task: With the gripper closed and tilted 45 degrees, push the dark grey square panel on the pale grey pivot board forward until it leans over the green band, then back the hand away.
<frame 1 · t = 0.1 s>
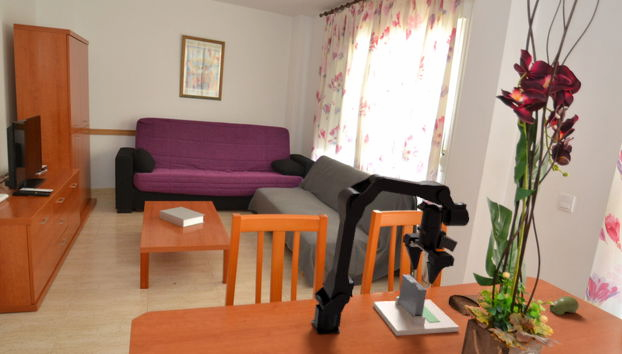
hand: (422, 276, 120), 15 cm above the table, tool pointing down, fingers open, 9 cm apart
pivot board: (414, 318, 125), on the table
sunglasses case: (478, 310, 136), on the table
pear: (562, 312, 140), on the table
dark grey square panel: (411, 297, 123), point 7 cm above the table, hinge at 0.0°
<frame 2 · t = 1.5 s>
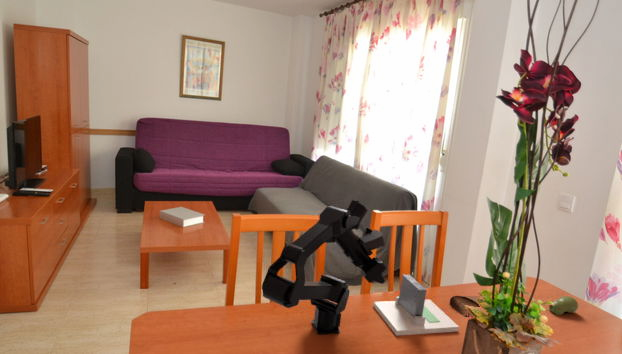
hand: (379, 278, 119), 14 cm above the table, tool tilted 45°, fingers open, 5 cm apart
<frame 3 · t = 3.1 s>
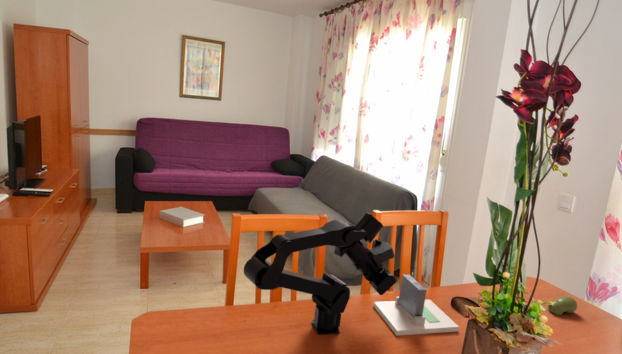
hand: (388, 289, 121), 10 cm above the table, tool tilted 45°, fingers closed
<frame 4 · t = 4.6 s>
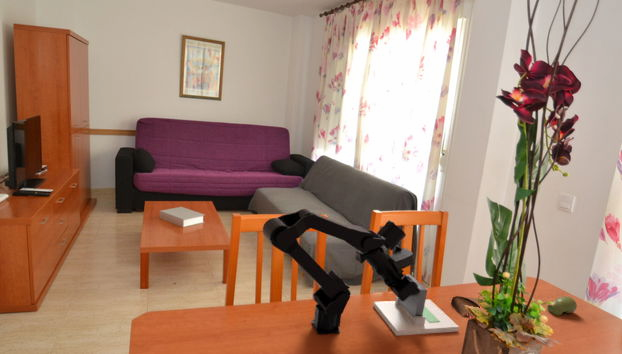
hand: (408, 294, 123), 8 cm above the table, tool tilted 45°, fingers closed, pressing on dark grey square panel
dark grey square panel: (412, 297, 123), point 7 cm above the table, hinge at 1.7°, touching gripper
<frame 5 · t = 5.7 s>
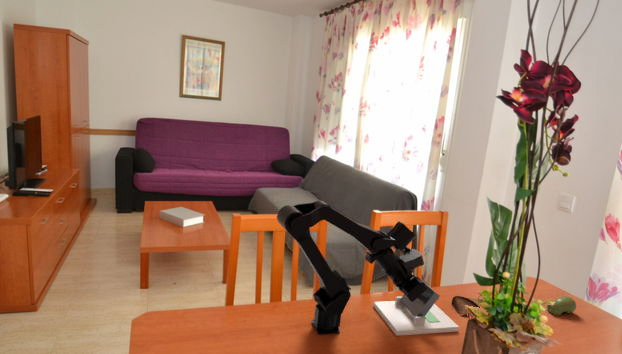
hand: (417, 295, 124), 8 cm above the table, tool tilted 45°, fingers closed, pressing on dark grey square panel
dark grey square panel: (418, 299, 124), point 6 cm above the table, hinge at 31.5°, touching gripper
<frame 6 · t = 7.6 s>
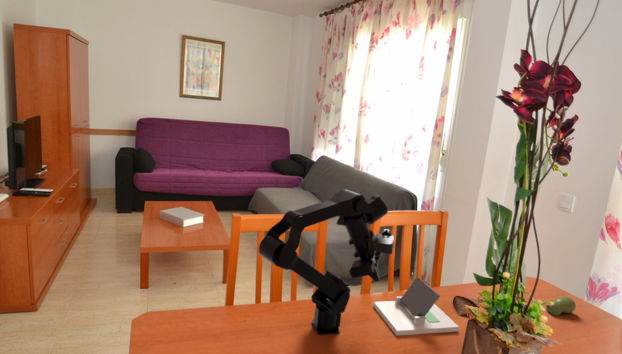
hand: (377, 280, 117), 13 cm above the table, tool tilted 25°, fingers closed
dark grey square panel: (418, 299, 124), point 6 cm above the table, hinge at 31.7°
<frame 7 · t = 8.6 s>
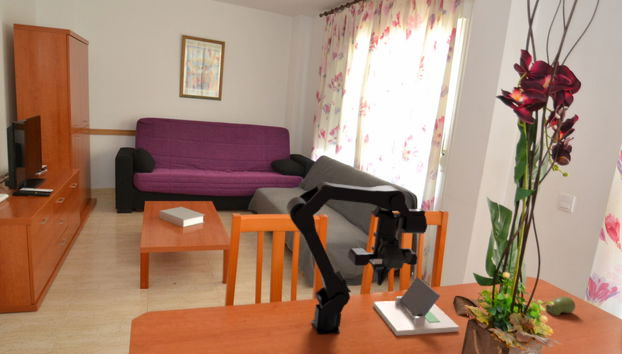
hand: (379, 284, 116), 13 cm above the table, tool pointing down, fingers closed
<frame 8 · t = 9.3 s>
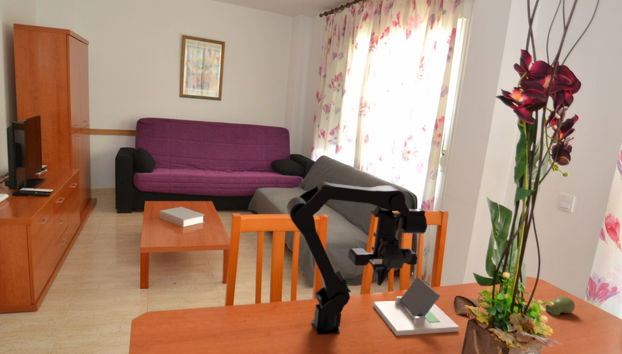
hand: (379, 284, 116), 13 cm above the table, tool pointing down, fingers closed
at the end: dark grey square panel at +32° (first picture: +0°) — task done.
